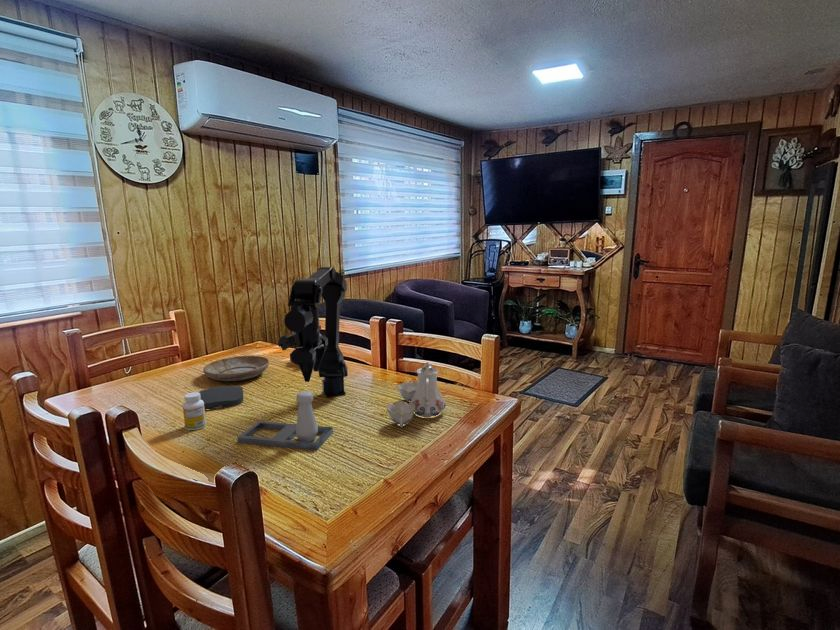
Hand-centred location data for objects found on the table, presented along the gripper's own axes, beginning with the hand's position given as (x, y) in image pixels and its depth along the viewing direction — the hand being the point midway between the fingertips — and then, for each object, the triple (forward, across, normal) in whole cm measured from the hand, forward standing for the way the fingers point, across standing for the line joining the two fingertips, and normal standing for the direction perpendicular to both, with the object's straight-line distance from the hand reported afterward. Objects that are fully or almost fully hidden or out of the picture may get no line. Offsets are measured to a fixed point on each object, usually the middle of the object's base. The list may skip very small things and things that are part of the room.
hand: (311, 376), depth 131 cm
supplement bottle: (+13, +6, -32) cm, 36 cm away
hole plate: (+13, +12, -4) cm, 18 cm away
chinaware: (+13, -5, +31) cm, 34 cm away
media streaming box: (+14, -14, -35) cm, 40 cm away
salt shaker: (+13, +13, +2) cm, 19 cm away
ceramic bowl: (+13, -38, -40) cm, 57 cm away
